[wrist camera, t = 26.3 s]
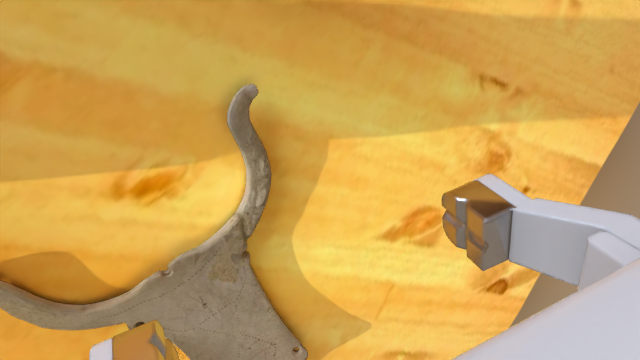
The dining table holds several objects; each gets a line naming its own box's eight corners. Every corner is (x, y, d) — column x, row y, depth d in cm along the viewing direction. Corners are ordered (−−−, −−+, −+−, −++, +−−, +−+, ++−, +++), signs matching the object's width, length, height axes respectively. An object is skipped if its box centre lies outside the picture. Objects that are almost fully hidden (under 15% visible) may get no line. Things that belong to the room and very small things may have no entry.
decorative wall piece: (380, 288, 52) (247, 73, 37) (392, 305, 50) (255, 81, 34) (163, 438, 50) (-76, 279, 35) (164, 463, 48) (-94, 304, 32)
